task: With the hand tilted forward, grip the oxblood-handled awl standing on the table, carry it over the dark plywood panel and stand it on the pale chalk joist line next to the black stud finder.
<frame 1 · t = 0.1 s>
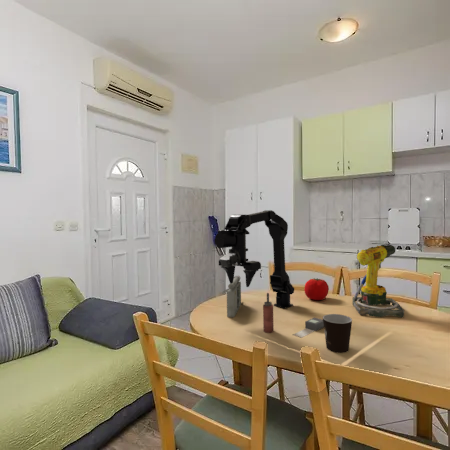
hand: (239, 285, 125), 15 cm above the table, tool pointing down, fingers open, 9 cm apart
tomato: (316, 299, 154), on the table
cordless drill: (378, 310, 136), on the table
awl: (268, 332, 113), on the table
coffee mug: (338, 348, 99), on the table
subfloor panel: (297, 328, 116), on the table
finder: (315, 327, 115), point 1 cm above the table, touching subfloor panel
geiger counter: (234, 308, 143), on the table
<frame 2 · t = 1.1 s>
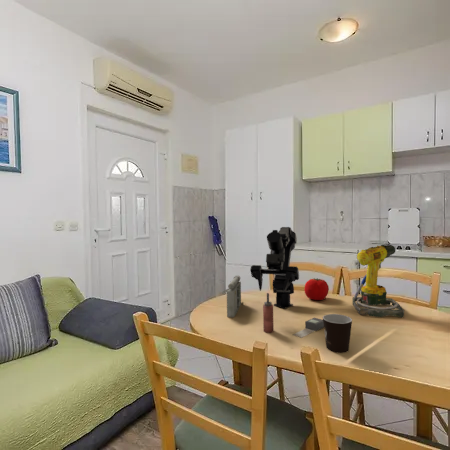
hand: (271, 290, 120), 13 cm above the table, tool tilted 45°, fingers open, 9 cm apart
nothing on the table moved.
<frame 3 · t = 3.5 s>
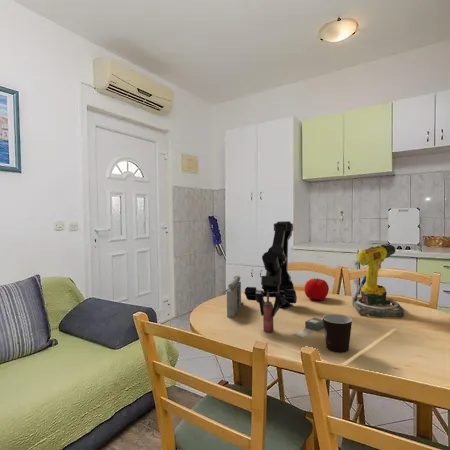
hand: (267, 315, 112), 7 cm above the table, tool tilted 45°, fingers closed on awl, 4 cm apart
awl: (268, 332, 113), on the table, touching gripper
everything else where it was.
when the fingers open (8 cm above the table, at t = 6.8 s): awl stays where it is, resting on subfloor panel.
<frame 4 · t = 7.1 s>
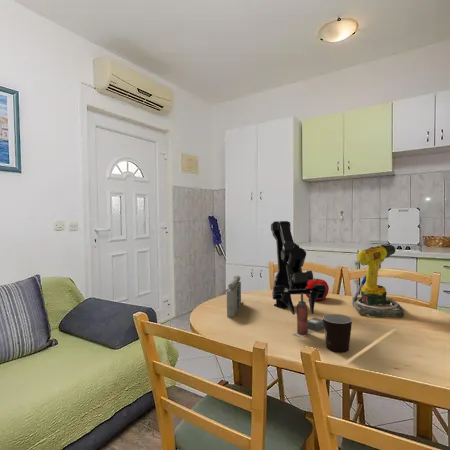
hand: (303, 313, 108), 8 cm above the table, tool tilted 45°, fingers open, 6 cm apart
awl: (302, 333, 110), point 1 cm above the table, touching subfloor panel
everything else where it was.
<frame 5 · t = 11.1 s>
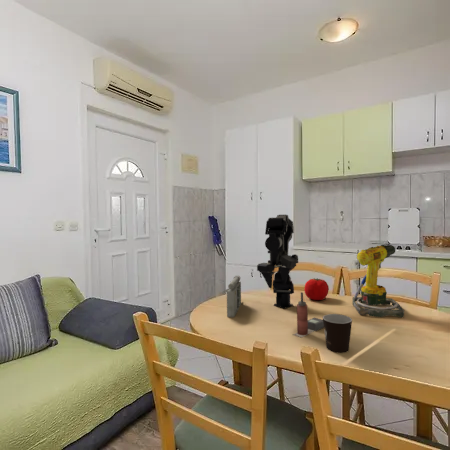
hand: (277, 285, 129), 13 cm above the table, tool pointing down, fingers open, 9 cm apart
nothing on the table moved.
at the end: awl 0.0 cm from the target spot, point 0.7 cm above the table; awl tilted 0°; the gripper is holding nothing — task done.
